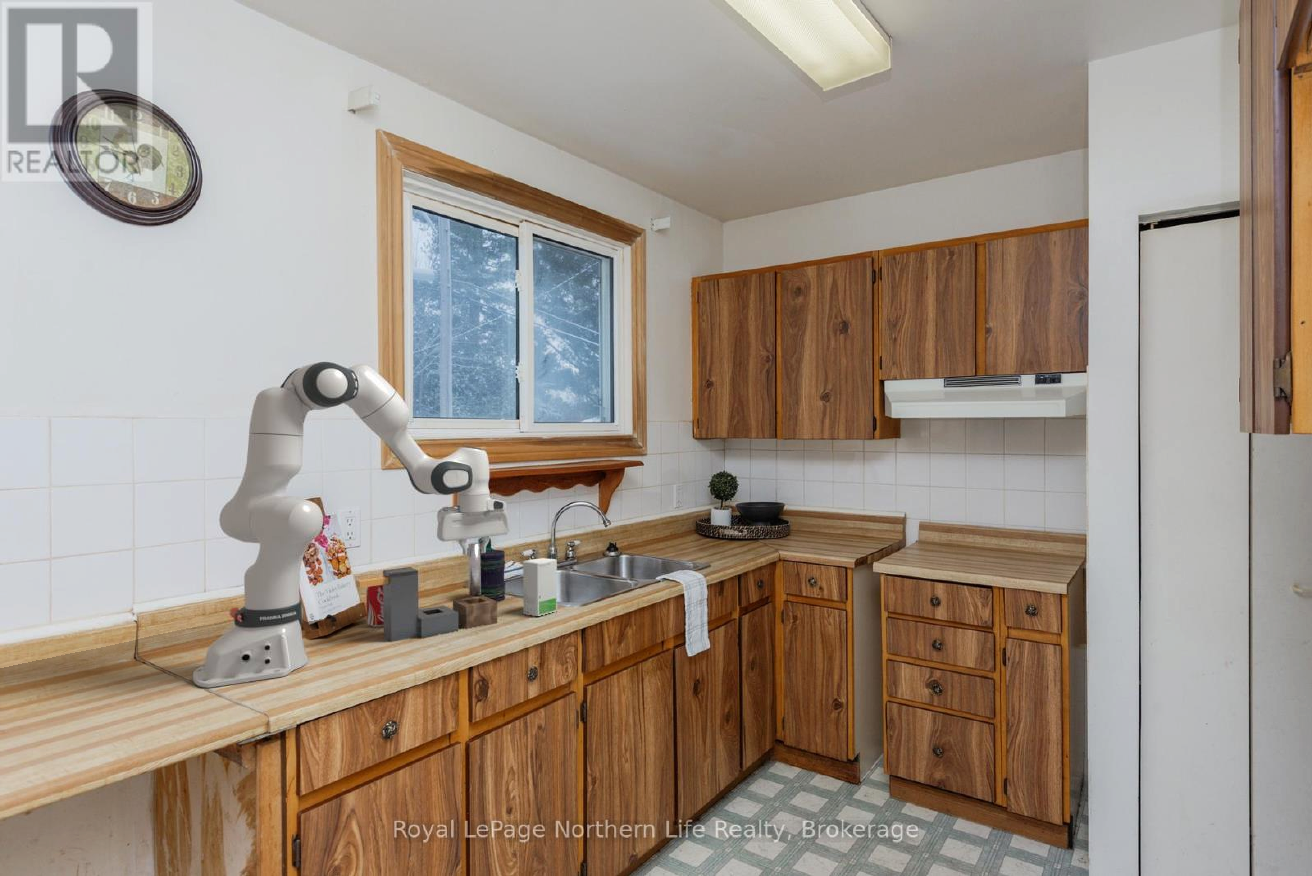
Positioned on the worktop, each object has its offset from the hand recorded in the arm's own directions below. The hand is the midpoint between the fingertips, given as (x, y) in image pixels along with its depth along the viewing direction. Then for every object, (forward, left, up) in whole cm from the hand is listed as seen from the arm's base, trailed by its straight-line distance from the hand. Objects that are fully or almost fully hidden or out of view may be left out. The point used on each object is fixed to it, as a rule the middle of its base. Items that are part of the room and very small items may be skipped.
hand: (474, 554), depth 195 cm
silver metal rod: (0, 0, -11) cm, 11 cm away
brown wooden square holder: (0, 0, -19) cm, 19 cm away
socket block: (-16, 0, -19) cm, 25 cm away
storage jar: (+15, +22, -19) cm, 33 cm away
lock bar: (-24, 0, -5) cm, 24 cm away
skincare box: (+19, -3, -19) cm, 27 cm away
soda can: (-21, +15, -19) cm, 32 cm away
